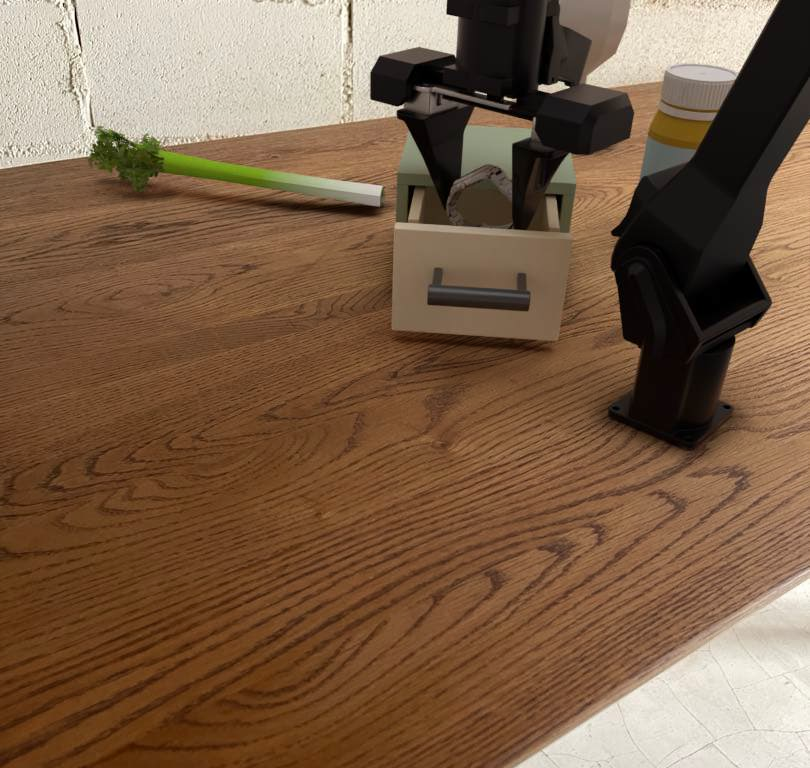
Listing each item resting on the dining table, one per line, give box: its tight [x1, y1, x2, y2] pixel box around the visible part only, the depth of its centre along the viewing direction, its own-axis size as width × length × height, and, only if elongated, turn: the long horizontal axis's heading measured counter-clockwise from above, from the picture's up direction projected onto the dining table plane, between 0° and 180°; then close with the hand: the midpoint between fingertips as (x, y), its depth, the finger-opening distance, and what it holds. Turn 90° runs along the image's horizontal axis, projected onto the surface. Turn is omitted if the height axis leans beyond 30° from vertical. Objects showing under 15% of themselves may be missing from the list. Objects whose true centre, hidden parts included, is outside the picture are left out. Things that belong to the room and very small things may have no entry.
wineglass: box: [559, 0, 632, 84], centre depth 105 cm, size 9×9×21 cm
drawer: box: [391, 186, 574, 342], centre depth 70 cm, size 17×13×8 cm
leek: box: [84, 125, 386, 208], centre depth 92 cm, size 6×7×30 cm
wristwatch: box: [446, 164, 514, 230], centre depth 68 cm, size 4×6×5 cm, turn 59°
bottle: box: [638, 63, 739, 183], centre depth 83 cm, size 7×7×15 cm
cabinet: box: [395, 124, 577, 233], centre depth 79 cm, size 14×14×10 cm
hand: (484, 221), depth 69 cm, fingers closed on wristwatch, 6 cm apart
